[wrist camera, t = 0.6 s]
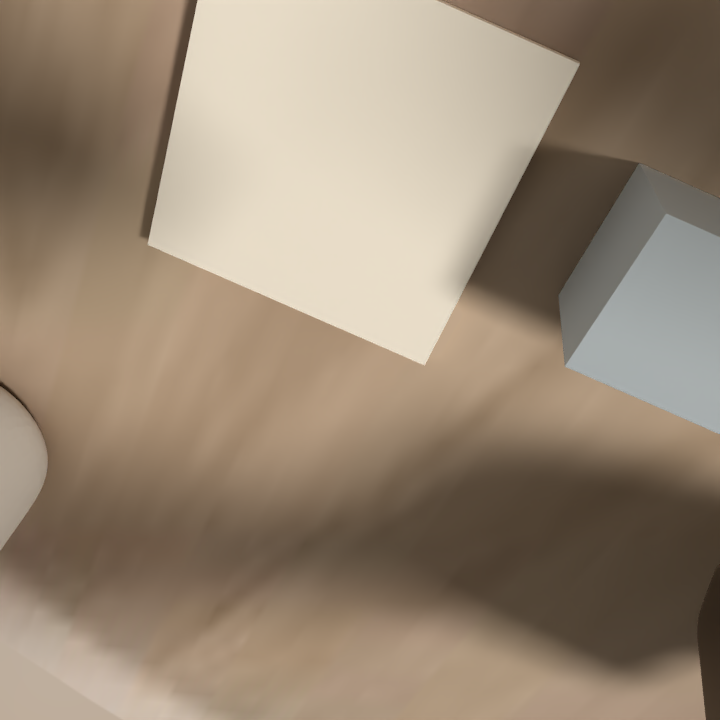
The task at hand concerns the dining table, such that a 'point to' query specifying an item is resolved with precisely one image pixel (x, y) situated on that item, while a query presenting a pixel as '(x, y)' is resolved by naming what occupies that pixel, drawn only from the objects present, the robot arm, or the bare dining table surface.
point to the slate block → (651, 299)
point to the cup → (18, 463)
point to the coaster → (351, 154)
